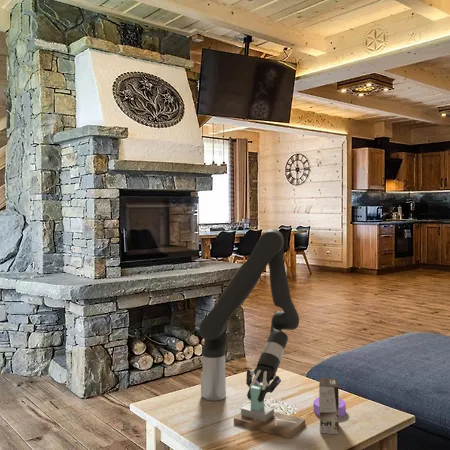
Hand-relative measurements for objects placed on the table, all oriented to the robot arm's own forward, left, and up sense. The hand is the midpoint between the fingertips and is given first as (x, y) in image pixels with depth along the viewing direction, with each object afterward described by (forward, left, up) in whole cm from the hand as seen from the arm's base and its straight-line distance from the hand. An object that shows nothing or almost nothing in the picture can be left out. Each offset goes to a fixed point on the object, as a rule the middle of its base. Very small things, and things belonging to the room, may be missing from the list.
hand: (254, 399), depth 176 cm
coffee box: (+24, +10, -9) cm, 27 cm away
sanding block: (0, +2, -6) cm, 7 cm away
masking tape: (+19, +23, -9) cm, 31 cm away
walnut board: (+5, +2, -9) cm, 10 cm away
